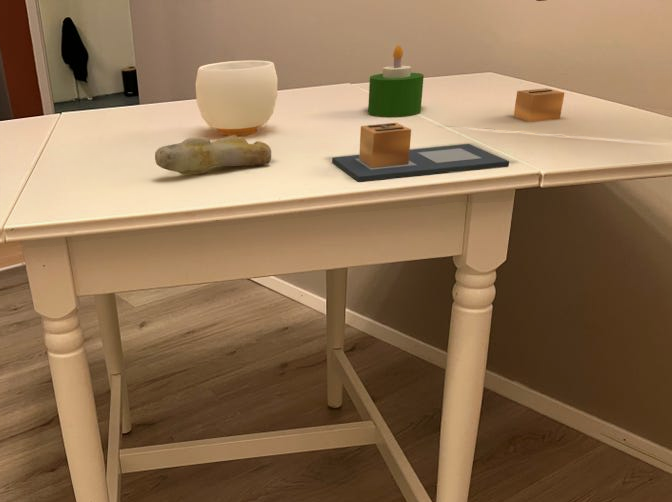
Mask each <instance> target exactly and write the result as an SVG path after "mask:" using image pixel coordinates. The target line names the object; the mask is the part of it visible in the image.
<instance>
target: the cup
mask: <svg viewBox="0 0 672 502" xmlns="http://www.w3.org/2000/svg"><path fill="white" fill-rule="evenodd" d="M196 73H197V74H196V79H195V97H196V99H195V100H196V104H197V107H198V110H199V112H200V116H201V118H202V119H203V120H204V122H205V123H206V124H207V125H208V126H209V127H210V128H213V129H215V130H217V131H219V134H220V135H222V136H225V137H228V136H232V135H237V136H238V137H241V136H242V137H243V136H249V135H252V134H255V133H256V132H257V131H258V129H259V128H260V127H262V126H263V125H265V124H267V123H268V122H269V120H270V119H271V117H272V115H273V113H274V111H275V107H276V104H277V103H276V102H277V99H278V75H277V70H276V66H275V63H274V62H273V61H269V60H259V59H258V60H256V59H255V60H251V59H250V60H249V59H248V60H232V61H231V60H230V61H223V62H222V61H221V62H215V63H209V64H204V65H200V66H199V67H198V69H197V72H196Z"/></svg>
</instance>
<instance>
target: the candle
mask: <svg viewBox="0 0 672 502" xmlns="http://www.w3.org/2000/svg"><path fill="white" fill-rule="evenodd" d="M403 55H404V51H403V47H402V46H401V45H399V44H398V45H397V46H395V48H394V50H393V54H392V57H393V65H390V66H389V65H388V66H384V67H382V73H377V74H373V75H371V76H369V85H368V86H369V87H368V107H367V113H368V115H370V116H372V117H373V116H375V117H382V118H383V117H384V118H402V117H409V116H414V115H418V114H420V113H421V111H422V102H423V101H422V99H423V91H424V90H423V88H424V77H425V75H424V74H423V73H420V72H412V66H410V65H402V58H403Z"/></svg>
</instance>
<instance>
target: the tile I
mask: <svg viewBox="0 0 672 502" xmlns="http://www.w3.org/2000/svg"><path fill="white" fill-rule="evenodd" d="M564 98H565V92H564V91H560V90H555V89H553V88H552V89H551V88H545V87H544V88H535V89H534V88H533V89H524V90H517V91H516V97H515V103H514V110H513V117H514V118H517V119H519V120H523V121H526V122H530V123H532V122H533V123H534V122H542V121H552V120H561V115H562V109H563V103H564Z"/></svg>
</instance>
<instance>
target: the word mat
mask: <svg viewBox="0 0 672 502" xmlns="http://www.w3.org/2000/svg"><path fill="white" fill-rule="evenodd" d="M331 163H333V164H334V165H335V166H337V167H338V168H339V169H341V170H342V171H344V173H346V174H348V176H350V177H352V178H353V179H354V180H355V181H357V182H358V183H359V182H370V181H378V180H379V181H380V180H388V179H389V180H390V179H397V178H407V177H416V176H429V175H436V174H446V173H457V172H465V171H475V170H485V169H493V168H494V169H495V168H503V167H509V165H510V160H507V159H505V158H503V157H501V156H498V155H496V154H494V153H492V152H489V151H486V150H484V149H483V148H480V147H478V146H475V145H473V144H470V143H464V144H463V143H461V144H452V145H444V146H441V145H440V146H434V147H433V146H432V147H422V148H413V149H410V152H409V164H405V165H395V166H385V167H375V168H372V167H370V166H369V165H367V164H366V163H364V162H363V161H361V160H359V154H352V155H343V156H333V157H332V158H331Z"/></svg>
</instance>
